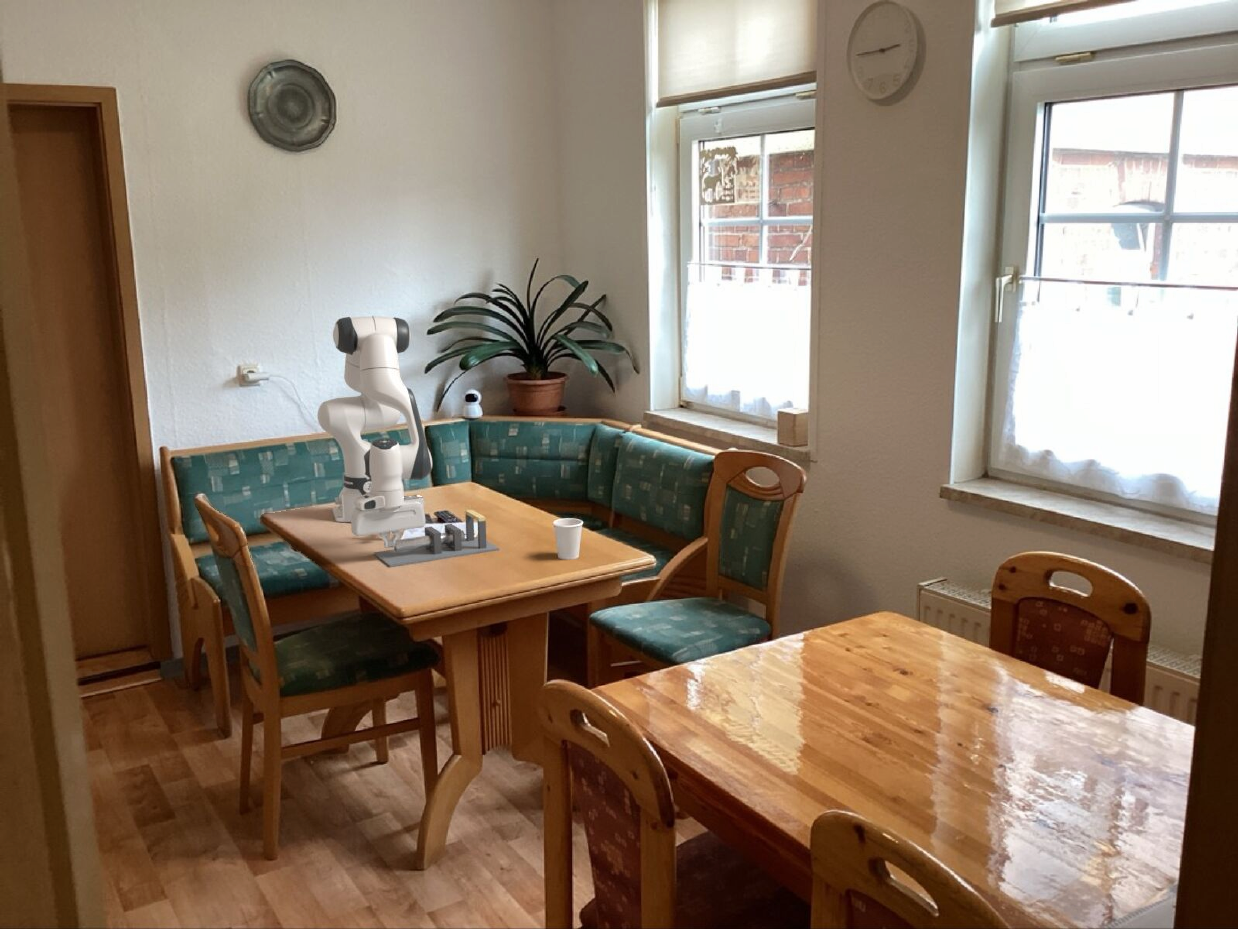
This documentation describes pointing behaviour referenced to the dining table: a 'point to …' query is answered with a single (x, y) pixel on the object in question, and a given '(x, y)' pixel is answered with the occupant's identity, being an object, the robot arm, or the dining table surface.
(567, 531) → the dixie cup
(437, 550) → the collar board
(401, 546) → the tube
